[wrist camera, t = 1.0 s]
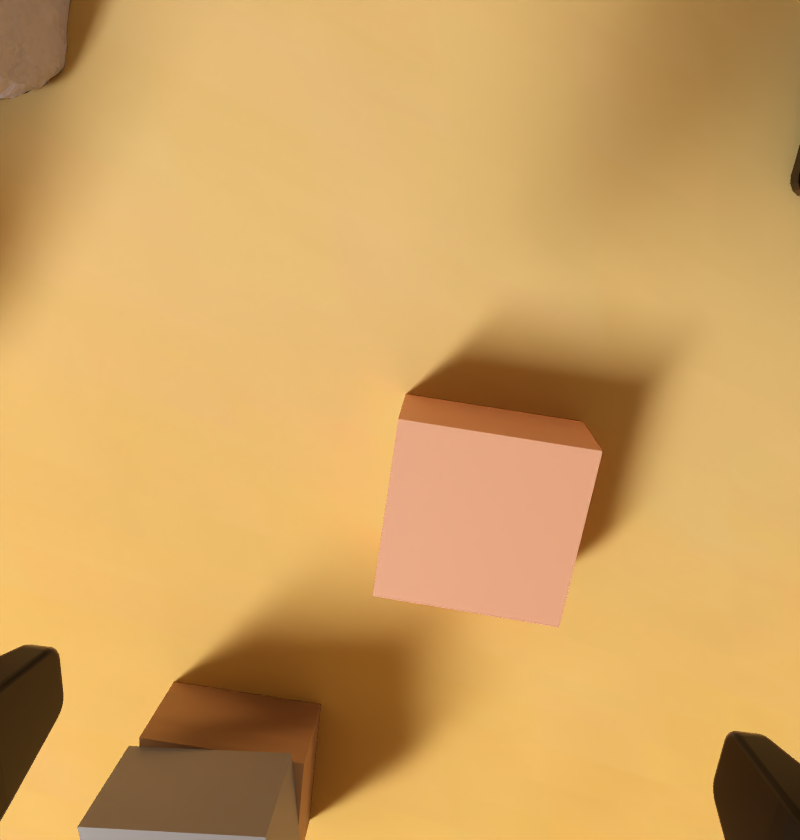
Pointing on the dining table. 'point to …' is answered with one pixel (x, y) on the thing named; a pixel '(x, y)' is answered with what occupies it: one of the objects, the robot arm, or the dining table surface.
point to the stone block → (31, 43)
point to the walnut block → (240, 730)
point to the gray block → (195, 797)
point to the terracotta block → (485, 509)
